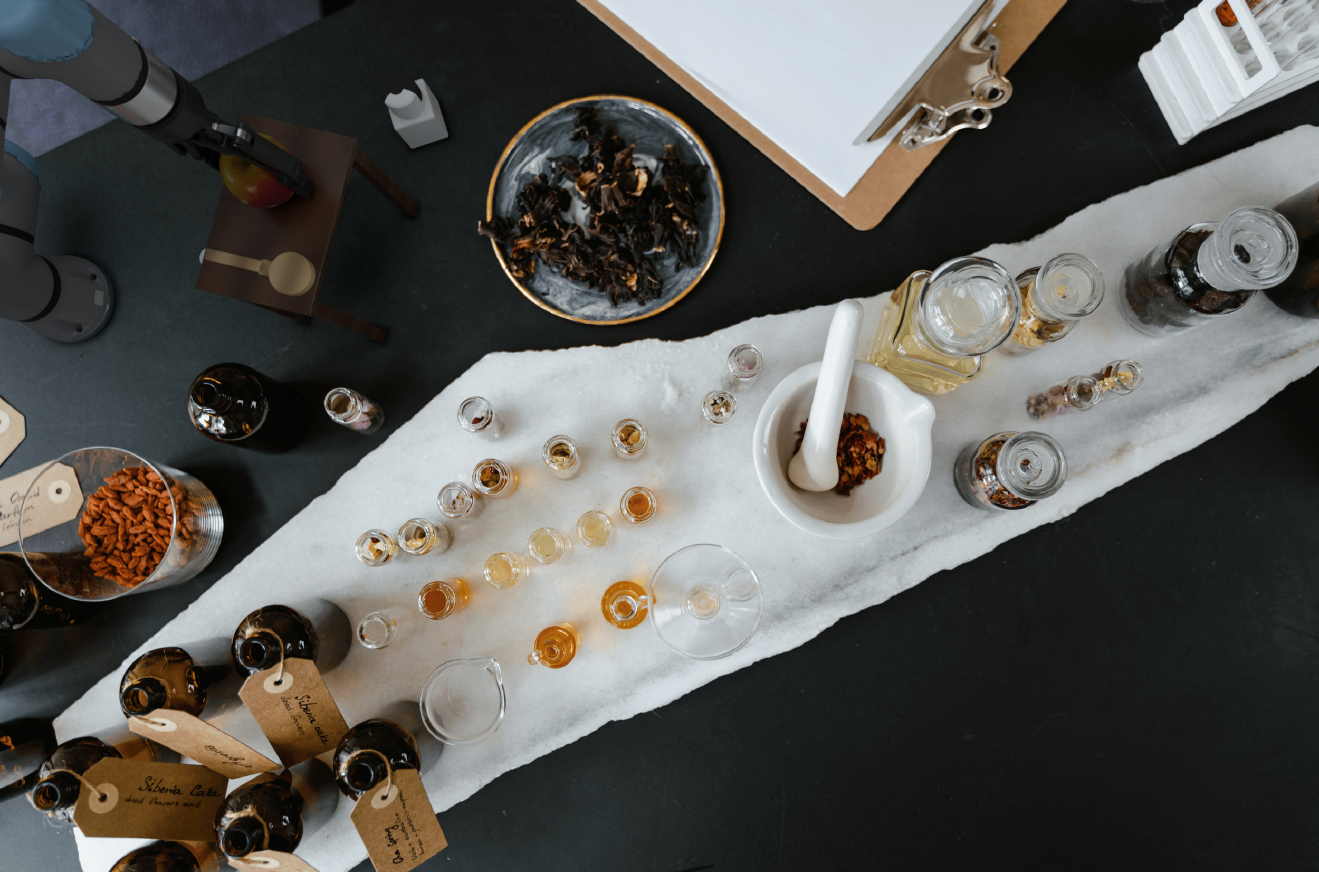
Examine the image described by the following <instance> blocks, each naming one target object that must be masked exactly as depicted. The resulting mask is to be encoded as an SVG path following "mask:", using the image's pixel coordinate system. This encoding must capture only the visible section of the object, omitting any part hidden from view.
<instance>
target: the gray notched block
mask: <svg viewBox="0 0 1319 872" xmlns="http://www.w3.org/2000/svg"><path fill="white" fill-rule="evenodd" d="M379 96H380V98H381V100H382V102H383V103H384V104H385V106H386V107H387V109H388V112H389V115H390V118H391V122H392V125H393V128H394V130H395V132H396V133H397V134H398V135H399V136H400V138H401V139H402V140H403V141H404V142H405V144H407V146H408V147H409V148H410V149H412V150H413V149H416V148H419V147H422V146H425V145H428V144H431V143H435V142H437V141H441V140H443V139H446V138H448V137H449V133H448V129H447V126H446V123H445V119H444V117H443V114H442V110H441V107H440V103H439V100H438V99H437V98H436V96H435V94H434V93H433V92H432V90H431V88H430V87H429V85H428V84H427V83H426V81H425V79H423V78H419V79H416V80H415V79H414V78H413V77H412V75H410V74H408V73H407V72H404V71H393V72H390V73H389V74H387V75H386V76H384V78H383V79H382V80H381V82H380V85H379Z"/></svg>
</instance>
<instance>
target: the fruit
mask: <svg viewBox="0 0 1319 872" xmlns="http://www.w3.org/2000/svg"><path fill="white" fill-rule="evenodd" d="M257 134H259V135H261V136H262V137H264V138H265V139H267V140H268V141H270V142H272V143H273V144H275V145H276V146H278V147H279V148H281V149H283V150H284V151H286V152H287V153H289V154H290V155H292V154H291V153H290V151H289V150H288V149H287V148H286V147H285V146H284V145H283V144H282V143H280V142H279V141H277V140H275V139H273V138H272V137H270V136H267V135H264V134H261V133H257ZM219 169H220V172H219V173H220V176H221V179H222V183H223V182H224V184H225V186H226V187H227V188H228V190H229V191H230V193H231V194H232V195H233V196H234V197H236V198H237V199H238V200H239V201H241V202H242V203H244V204H247V205H249V206H253V207H259V208H268V207H274V206H278V205H280V204H282V203H284V202H286V201H287V200H288V199H290V198H291V196H292V195H293V194H294V192H293V191H292V190H290V189H289V188H287V187H286V186H284V185H280V184H278V183H279V181H278V180H276V176H275V175H273V174H271V173H269V172H267V171H265V170H263V169H261V168H259V167H257V166H255V165H253V164H251V163H249V162H247V161H245V160H243V159H241V158H238V157H236V156H234V155H230V156H226V155H223V154H221V155H220V159H219Z"/></svg>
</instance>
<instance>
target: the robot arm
mask: <svg viewBox="0 0 1319 872" xmlns="http://www.w3.org/2000/svg"><path fill="white" fill-rule="evenodd" d="M12 80H52V81H56V82H59V83H62V84H64V85H65V86H67V87H68V88H70V89H71V90H74V92H77V93H79V94H81V95H82V96H84V97H85V98H87V99H88V100H89V101H90V102H92V103H94V104H95V105H97V106H99V107H100V108H101V109H103V110H104V111H106V112H108V113H109V114H111V115H113V116H115V117H116V118H118V119H119V120H121V121H123V122H125V123H127V124H129V125H130V126H132V127H133V128H135V129H137V130H138V131H140V132H142V133H143V134H145V135H146V136H148V137H150V138H152V139H153V140H155V141H157V142H160V143H162V144H164V145H166V146H167V147H168V148H170V149H171V150H172V151H173V152H175V153H176V154H177V155H179V156H184V157H186V156H187V154H189V156H191V157H192V158H193V159H194V160H196V161H198V162H199V161H200V162H203V161H204V164H206V165H208V166H209V167H210V168H212V169H214V170H215V171H217V172H218V173H220V169H219V159H220V155H221V154H223V155H226V156H230V155H234V156H236V157H238V158H241V159H243V160H245V161H247V162H249V163H251V164H253V165H255V166H257V167H259V168H261V169H263V170H265V171H267V172H269V173H271V174H273V175H275V176H276V180H278V181H279V183H278V184H280V185H284V186H286V187H287V188H289V189H290V190H292V191H293V192H295V193H296V194H297V195H299V196H300V197H302V198H303V199H306V200H309V199H310V195H311V191H312V187H313V183H314V181H312V180H311V179H310V178H308V177H307V176H306V175H304V174H303V173H302V172H301V167H302V162H301V161H300V160H299V159H297V158H295V157H294V156H292V155H290V154H289V153H287V152H286V151H284V150H283V149H281V148H279V147H278V146H276V145H275V144H273V143H272V142H270V141H268V140H267V139H265V138H264V137H262V136H261V135H259V134H257V133H256V132H255V131H254V130H253V129H252V128H250V127H249V126H248V125H247V124H245V123H244V122H240V121H237V122H236V126H234V125H233V124H232V123H229V122H227V121H225V120H224V119H222V118H220V117H219V116H218V114H217V113H215V112H213V111H211V110H209V109H207V106H206V102H205V101H204V98H203V95H202V94H201V92H200V91H199V89H198V88H197V87H196V85H194V84H193V83H191V81H189V80H188V79H187V78H185V77H184V76H183V75H181V74H180V73H179V72H177V70H175V69H174V68H173V67H171V66H169V65H168V64H166V62H164V61H163V60H161V59H160V58H159V57H158V56H157V55H155V54H154V53H152V52H151V51H150V50H149V49H147V47H145V46H144V45H142V43H141V39H140V38H138V37H137V36H134V35H130V34H129V33H127V32H126V31H125V30H124V29H122V28H121V27H120V26H118V25H117V24H116V23H115V22H113V21H112V20H111V19H110V18H108V17H107V15H105V14H104V13H102V12H101V11H100V10H98V8H96V7H95V6H94V5H92V3H89V2H88V0H0V318H1V319H4V320H10V321H14V322H18V323H21V324H23V325H24V326H26V327H28V328H30V329H32V331H34V332H36V333H37V334H40V335H41V336H42V337H43V336H44V337H45V338H47V339H49V340H54V341H57V342H64V343H70V344H71V343H72V344H73V343H82V342H85V341H88V340H90V339H92V338H94V337H96V336H97V335H99V334H100V333H101V332H102V331H103V330H104V329H105V328H106V326H107V325H108V323H109V322H110V321H111V318H112V316H113V314H114V312H115V306H116V292H115V291H116V290H115V287H114V283H113V281H112V279H111V278H110V277H111V276H109V274H108V273H107V272H106V270H104V269H103V268H102V267H101V266H100V265H99V264H97V263H96V262H93V261H91V260H88V259H86V258H83V257H79V256H76V255H71V254H70V255H69V254H67V255H65V254H62V255H61V254H59V255H57V254H55V255H54V254H52V255H51V254H49V255H48V254H46V255H44V254H43V255H41V254H37V253H35V252H34V249H35V248H34V247H35V237H36V228H37V222H38V213H39V205H40V197H41V191H42V182H41V167H40V164H39V162H38V160H37V159H36V157H34V156H33V155H32V154H31V153H30V152H29V151H28V150H26V149H25V148H23V147H22V146H20V145H18V144H17V143H15V142H13V141H11V140H9V139H7V138H6V132H7V130H6V129H7V126H8V125H7V124H8V116H9V107H10V106H9V105H10V97H11V86H12V85H11V84H12ZM224 142H225V143H224ZM222 145H224V146H222Z"/></svg>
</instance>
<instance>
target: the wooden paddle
mask: <svg viewBox="0 0 1319 872" xmlns="http://www.w3.org/2000/svg"><path fill="white" fill-rule="evenodd" d="M205 260H208V261H210V262H215V263H219V264H223V265H227V266H232V267H236V268H240V269H244V270H249V271H253V272H257V273H258V274H259V275H262V276H265V277H269V279H270V282H271V284H272V286H273V287H274V288H275V289H276V290H277V291H279V292H280V293H283V294H285V295H287V296H294V297H295V296H300V295H303V294H305V293H306V292H308V291H309V290H310V289H311V287H312V286H313V284H314V281H315V269H314V266H313V264H312V263H311V261H310V260H309V259H308V258H306V257H304V256H303V255H301V254H299V253H296V252H286V253H283V254H280V255H279V256H277V257H276V258H275V259H274V260H273V261H269V260H265V259H262V261H260V260H256V259H251V258H247V257H243V256H238V255H234V254H230V253H226V252H221V251H217V250H213V249H209V248H207V251H206V255H205Z"/></svg>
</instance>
